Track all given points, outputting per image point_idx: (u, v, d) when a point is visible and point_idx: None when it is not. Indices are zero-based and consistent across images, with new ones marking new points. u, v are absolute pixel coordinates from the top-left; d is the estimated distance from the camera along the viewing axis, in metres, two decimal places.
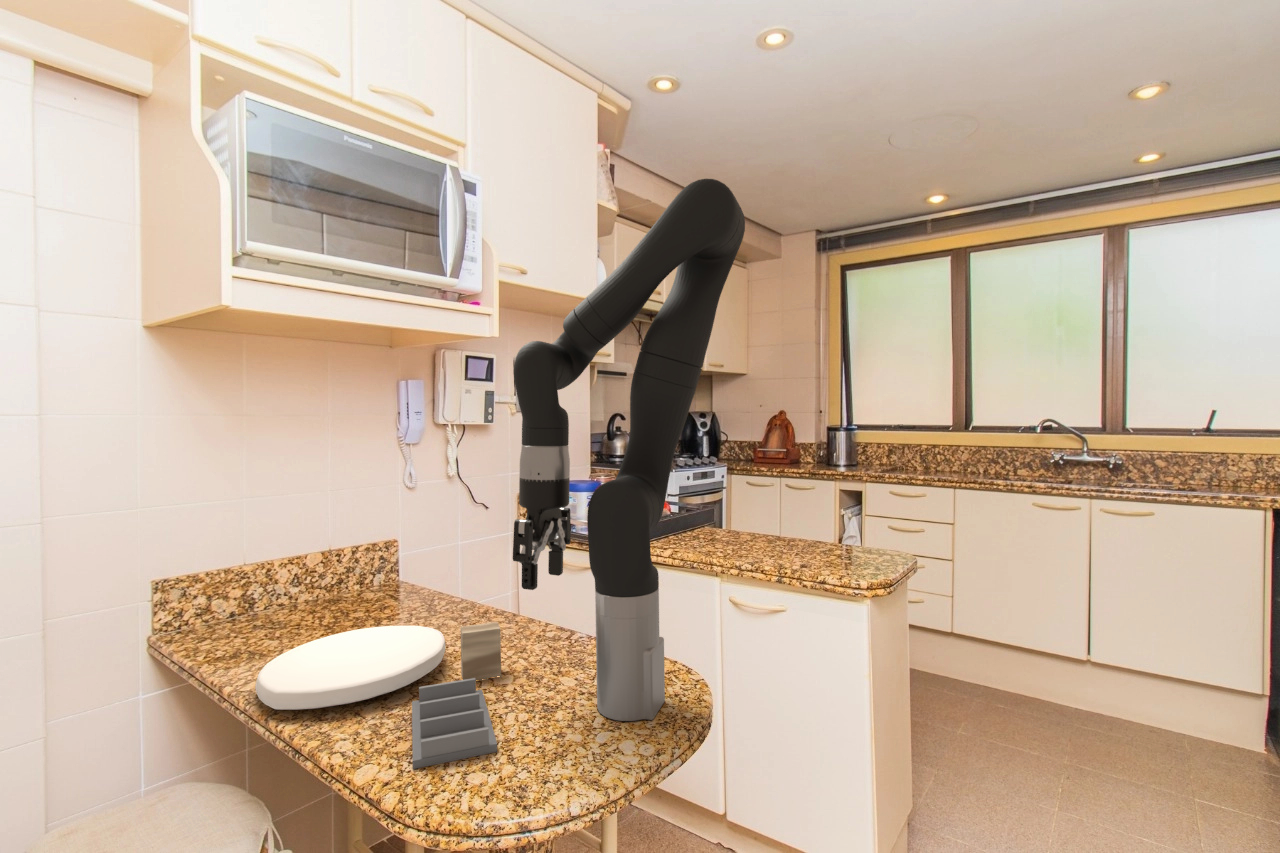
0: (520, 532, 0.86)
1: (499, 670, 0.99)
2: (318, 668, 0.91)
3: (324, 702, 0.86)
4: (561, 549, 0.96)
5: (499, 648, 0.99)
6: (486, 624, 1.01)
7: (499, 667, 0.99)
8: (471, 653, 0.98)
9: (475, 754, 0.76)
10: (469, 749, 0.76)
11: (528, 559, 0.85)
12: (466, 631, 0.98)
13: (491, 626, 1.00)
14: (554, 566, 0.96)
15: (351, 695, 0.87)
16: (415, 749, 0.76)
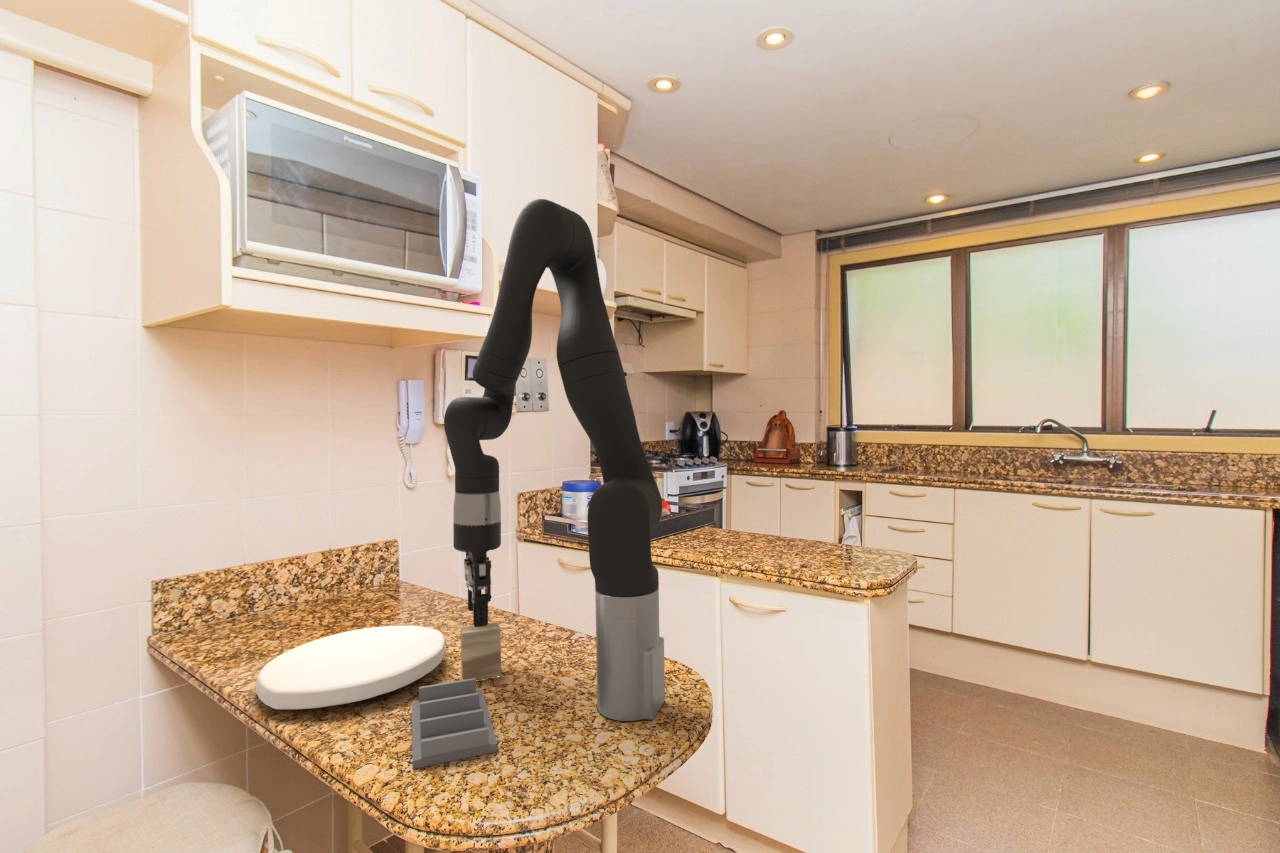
0: (481, 575, 0.93)
1: (499, 670, 0.99)
2: (319, 668, 0.91)
3: (324, 702, 0.86)
4: None
5: (499, 648, 0.99)
6: None
7: (499, 667, 0.99)
8: (471, 653, 0.98)
9: (475, 754, 0.76)
10: (469, 749, 0.76)
11: (490, 598, 0.94)
12: (466, 631, 0.98)
13: (491, 626, 1.00)
14: None
15: (351, 694, 0.87)
16: (415, 749, 0.76)
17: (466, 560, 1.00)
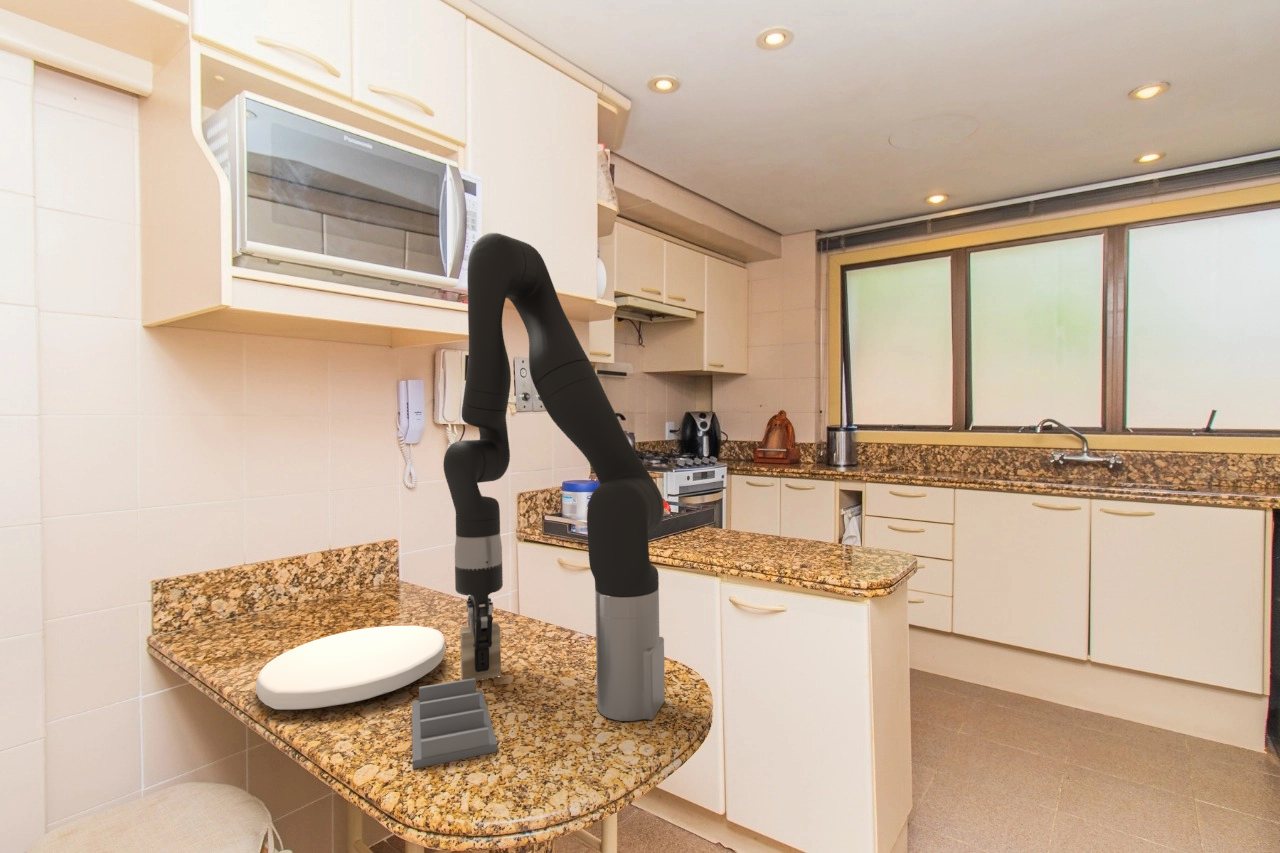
0: (482, 627, 0.94)
1: (499, 670, 0.99)
2: (318, 668, 0.91)
3: (324, 702, 0.86)
4: None
5: (499, 648, 0.99)
6: None
7: (499, 667, 0.99)
8: (471, 653, 0.98)
9: (475, 754, 0.76)
10: (469, 749, 0.76)
11: (491, 644, 0.96)
12: (466, 630, 0.98)
13: None
14: None
15: (351, 694, 0.87)
16: (415, 749, 0.76)
17: (468, 601, 1.00)
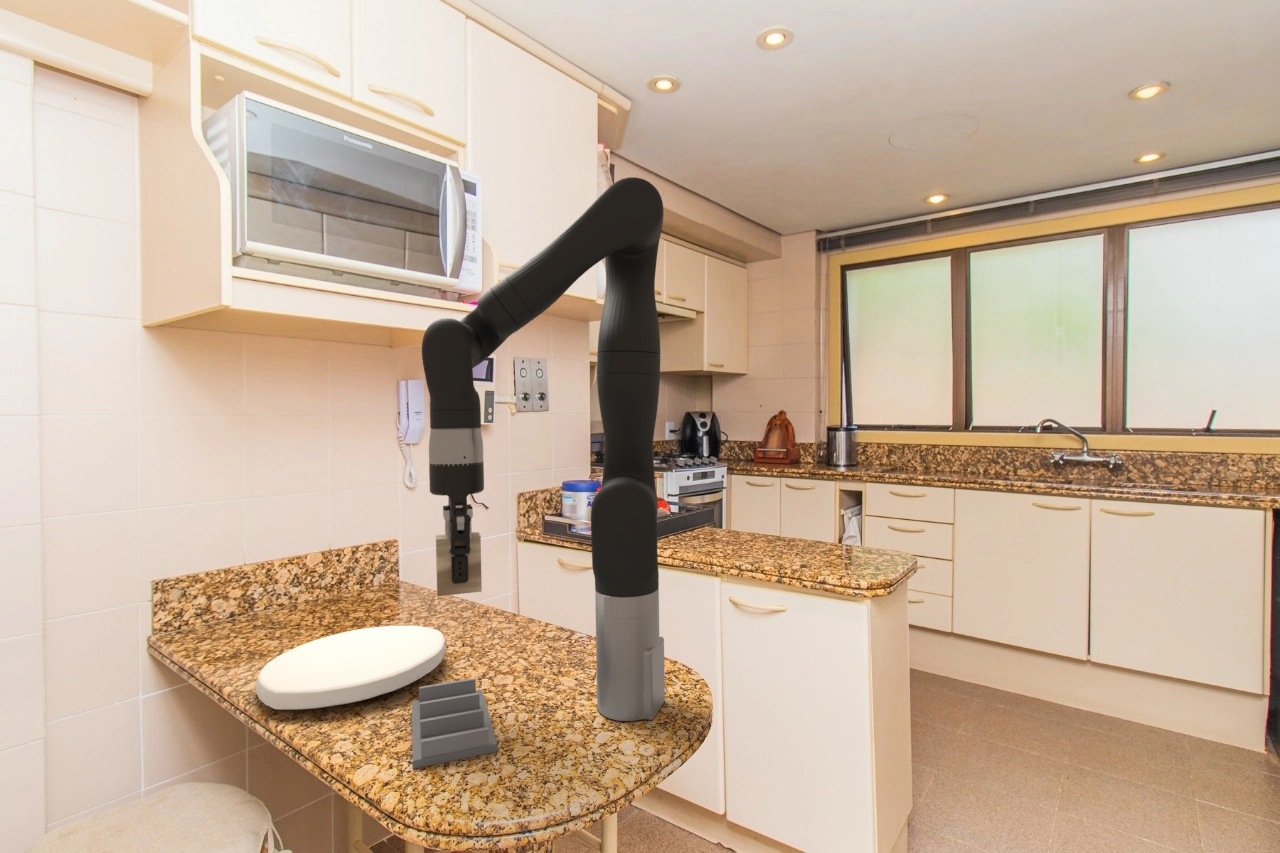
0: (459, 529, 0.82)
1: (479, 583, 0.87)
2: (319, 668, 0.91)
3: (324, 702, 0.86)
4: None
5: (479, 558, 0.87)
6: None
7: (479, 580, 0.87)
8: (447, 563, 0.86)
9: (475, 754, 0.76)
10: (469, 749, 0.76)
11: (469, 550, 0.84)
12: (441, 537, 0.86)
13: None
14: None
15: (351, 695, 0.87)
16: (415, 749, 0.76)
17: (445, 506, 0.88)
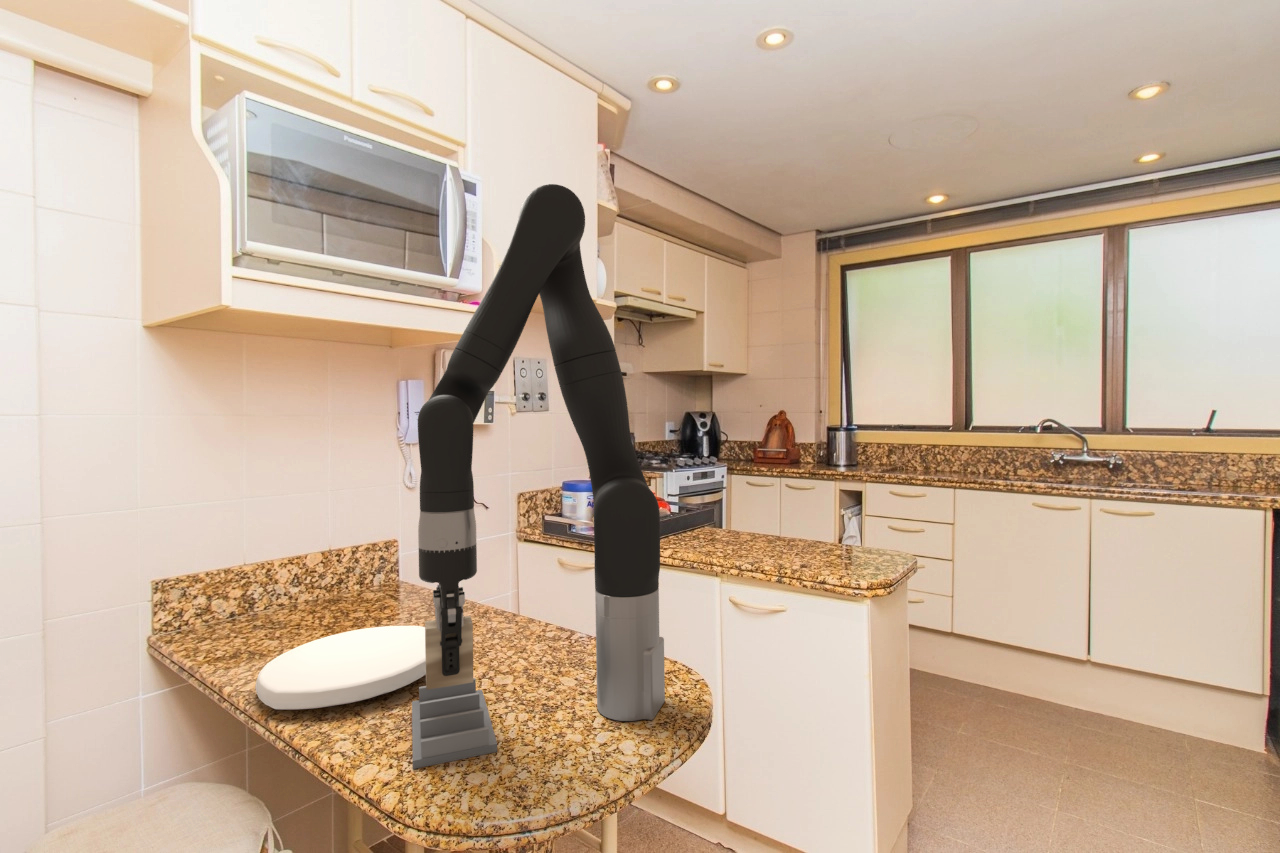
0: (450, 622, 0.77)
1: (471, 674, 0.82)
2: (319, 668, 0.91)
3: (324, 702, 0.86)
4: None
5: (471, 647, 0.82)
6: None
7: (471, 670, 0.82)
8: (437, 654, 0.81)
9: (475, 754, 0.76)
10: (469, 749, 0.76)
11: (461, 642, 0.79)
12: (430, 626, 0.81)
13: None
14: None
15: (351, 694, 0.87)
16: (415, 749, 0.76)
17: (435, 590, 0.83)
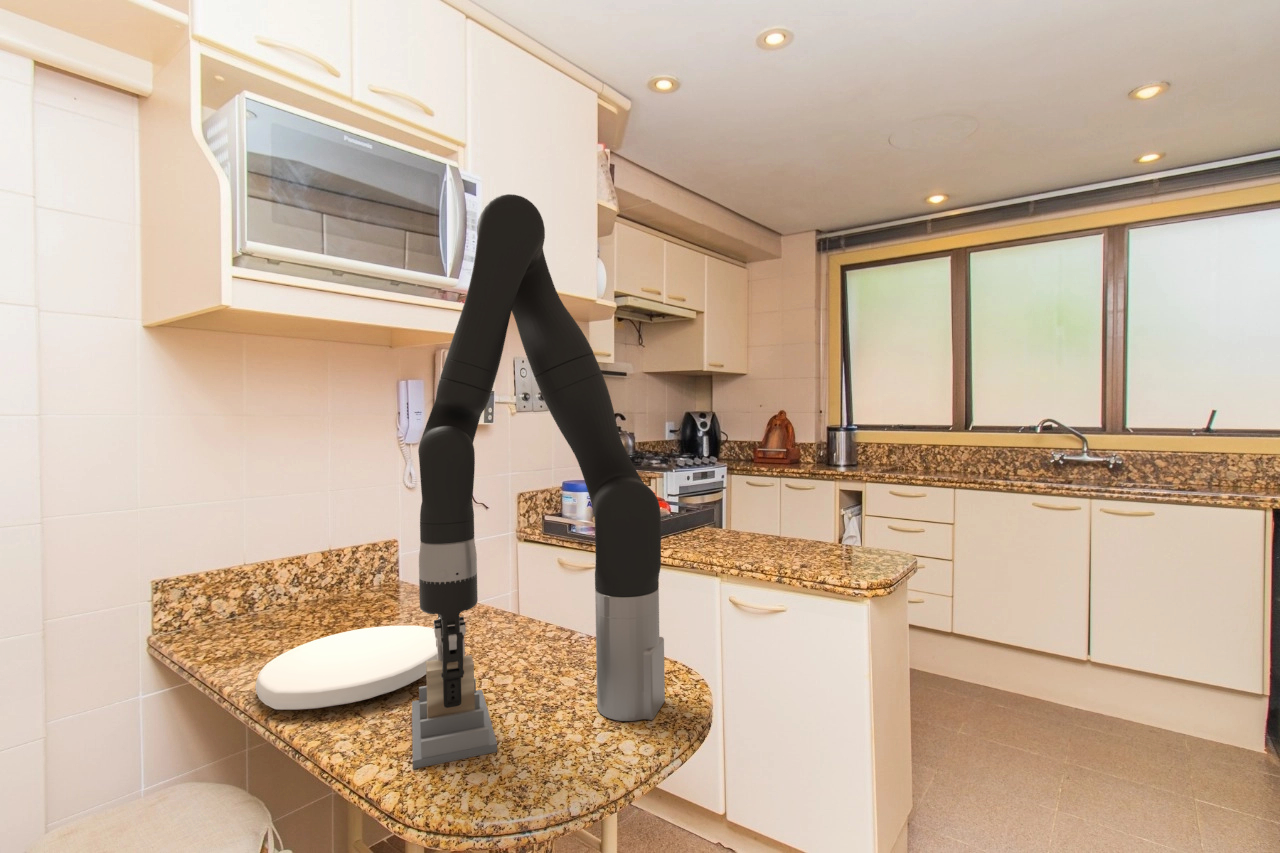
0: (451, 649, 0.76)
1: None
2: (319, 668, 0.91)
3: (324, 702, 0.86)
4: None
5: (472, 688, 0.82)
6: None
7: None
8: (438, 695, 0.81)
9: (475, 754, 0.76)
10: (469, 749, 0.76)
11: (463, 673, 0.77)
12: (432, 667, 0.81)
13: (463, 660, 0.83)
14: None
15: (351, 695, 0.87)
16: (415, 749, 0.76)
17: (436, 621, 0.83)
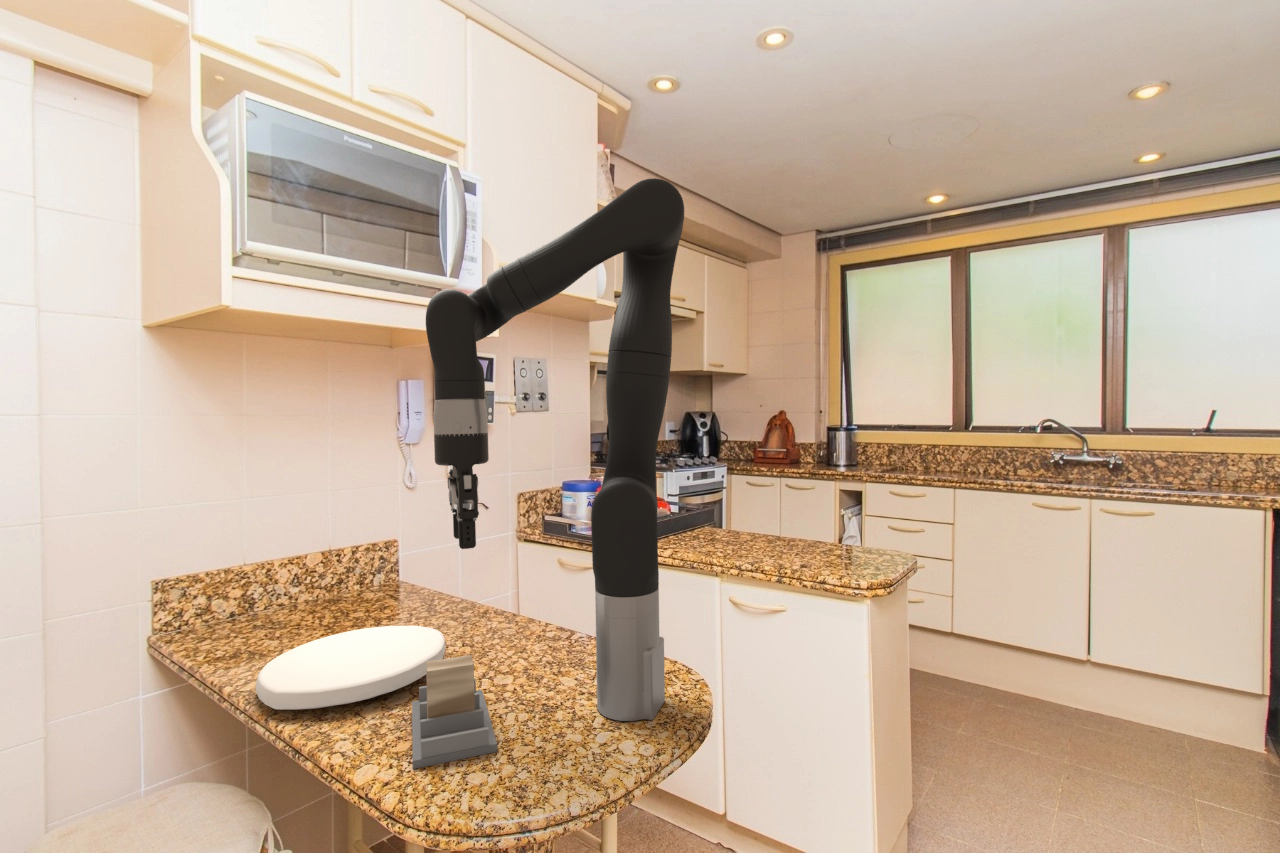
0: (466, 487, 0.82)
1: None
2: (319, 668, 0.91)
3: (324, 702, 0.86)
4: None
5: (472, 688, 0.82)
6: (457, 658, 0.84)
7: None
8: (438, 695, 0.81)
9: (475, 754, 0.76)
10: (469, 749, 0.76)
11: (477, 513, 0.82)
12: (432, 667, 0.81)
13: (463, 660, 0.83)
14: None
15: (351, 695, 0.87)
16: (415, 749, 0.76)
17: (450, 478, 0.88)
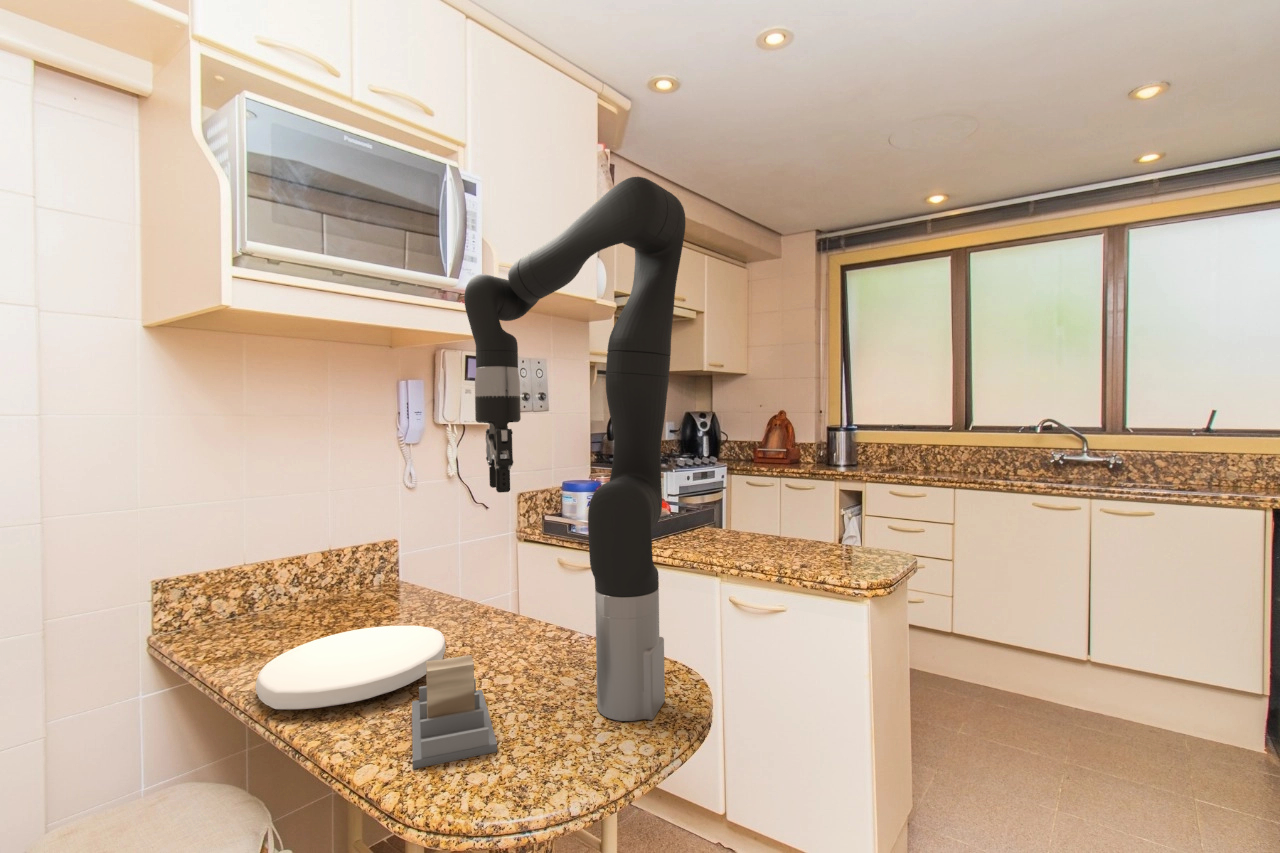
0: (503, 439, 0.97)
1: None
2: (319, 667, 0.91)
3: (324, 702, 0.86)
4: None
5: (472, 688, 0.82)
6: (457, 658, 0.84)
7: None
8: (438, 695, 0.81)
9: (475, 754, 0.76)
10: (469, 749, 0.76)
11: (512, 462, 0.98)
12: (432, 667, 0.81)
13: (463, 660, 0.83)
14: (496, 479, 1.08)
15: (351, 694, 0.87)
16: (415, 749, 0.76)
17: (488, 435, 1.04)
